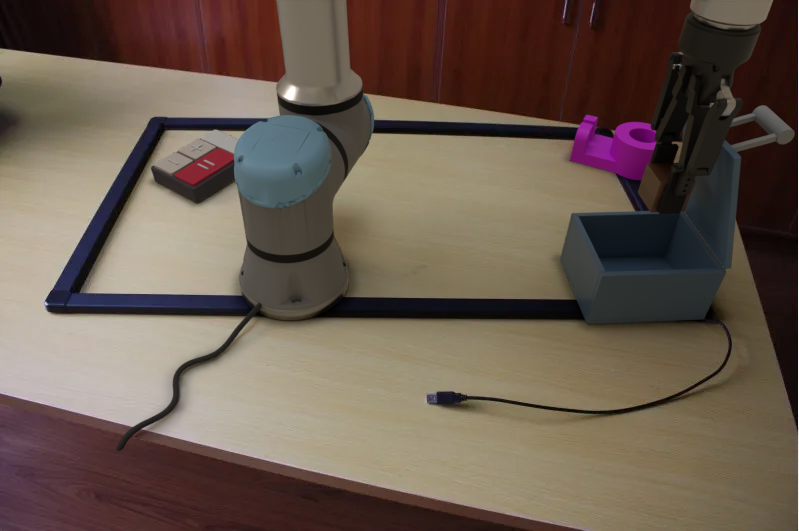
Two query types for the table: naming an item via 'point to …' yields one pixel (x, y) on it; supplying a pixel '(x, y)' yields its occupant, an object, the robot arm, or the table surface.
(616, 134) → the tape dispenser
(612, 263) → the compartment
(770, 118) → the lid
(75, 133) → the table surface
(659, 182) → the block
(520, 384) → the table surface
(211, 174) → the calculator
